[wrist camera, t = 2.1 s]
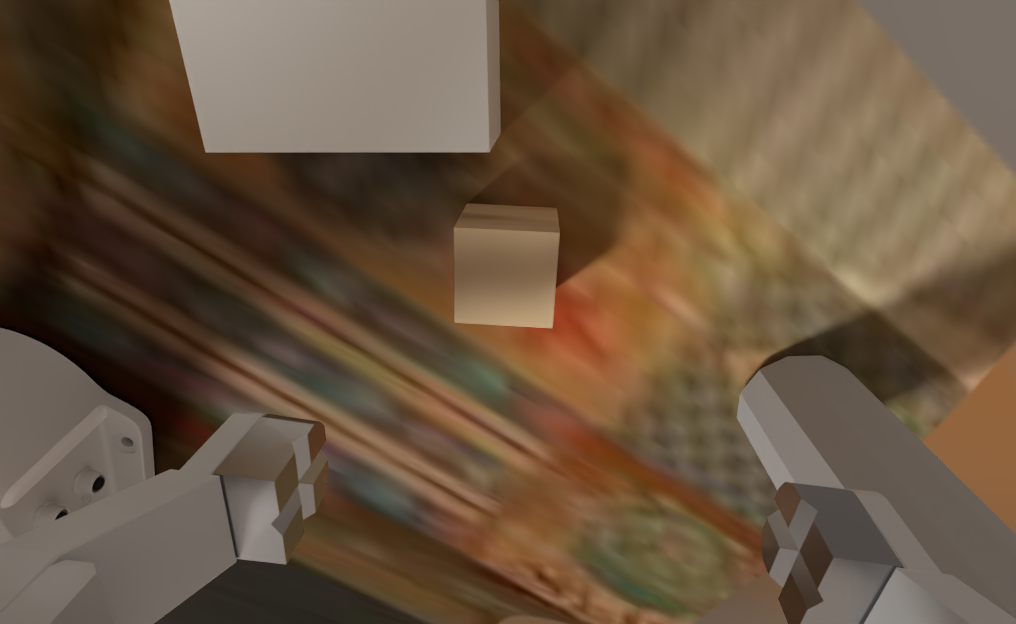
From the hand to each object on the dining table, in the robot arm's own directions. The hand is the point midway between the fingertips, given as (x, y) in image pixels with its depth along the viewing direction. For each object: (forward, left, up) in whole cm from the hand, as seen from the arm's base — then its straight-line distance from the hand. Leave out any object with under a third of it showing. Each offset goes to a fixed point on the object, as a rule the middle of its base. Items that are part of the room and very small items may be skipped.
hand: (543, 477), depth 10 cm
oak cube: (-3, +2, -22) cm, 22 cm away
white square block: (+9, +9, -22) cm, 25 cm away
